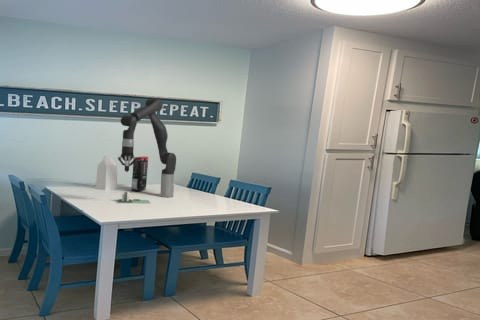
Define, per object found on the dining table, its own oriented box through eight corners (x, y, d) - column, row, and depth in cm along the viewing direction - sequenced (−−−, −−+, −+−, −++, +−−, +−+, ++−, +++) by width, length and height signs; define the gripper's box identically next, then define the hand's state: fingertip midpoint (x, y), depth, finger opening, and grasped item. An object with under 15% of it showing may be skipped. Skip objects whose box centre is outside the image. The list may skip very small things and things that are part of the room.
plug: (128, 201, 306) (128, 191, 306) (128, 202, 303) (129, 192, 302) (121, 200, 305) (122, 191, 304) (122, 201, 301) (122, 192, 301)
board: (147, 201, 316) (148, 198, 316) (150, 204, 302) (150, 202, 302) (115, 201, 308) (115, 198, 308) (116, 204, 295) (116, 201, 295)
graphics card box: (138, 188, 374) (140, 155, 372) (146, 189, 373) (148, 156, 371) (131, 191, 357) (132, 156, 355) (139, 192, 356) (141, 157, 354)
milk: (105, 190, 355) (106, 157, 353) (95, 188, 361) (97, 155, 359) (117, 189, 365) (118, 156, 363) (107, 187, 371) (108, 155, 369)
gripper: (137, 145, 307) (136, 171, 308) (117, 145, 303) (116, 170, 304) (138, 146, 300) (137, 172, 301) (118, 145, 296) (116, 172, 297)
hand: (126, 171), depth 303 cm, fingers closed
